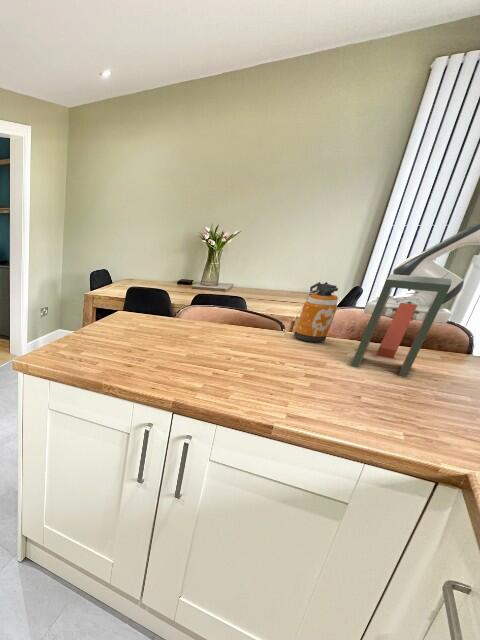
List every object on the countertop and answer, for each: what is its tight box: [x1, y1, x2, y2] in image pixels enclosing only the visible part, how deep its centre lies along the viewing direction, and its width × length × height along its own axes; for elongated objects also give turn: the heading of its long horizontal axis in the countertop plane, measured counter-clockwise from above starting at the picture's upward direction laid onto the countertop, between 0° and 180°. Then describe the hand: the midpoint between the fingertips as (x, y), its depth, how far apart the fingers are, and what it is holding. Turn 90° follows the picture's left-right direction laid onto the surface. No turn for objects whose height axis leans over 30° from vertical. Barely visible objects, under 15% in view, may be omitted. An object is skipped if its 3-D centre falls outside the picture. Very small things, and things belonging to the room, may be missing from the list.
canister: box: [293, 281, 339, 343], centre depth 141 cm, size 9×11×20 cm
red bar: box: [375, 303, 417, 359], centre depth 130 cm, size 4×22×4 cm
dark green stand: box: [350, 273, 452, 378], centre depth 115 cm, size 12×11×26 cm
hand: (403, 316), depth 131 cm, fingers closed on red bar, 4 cm apart
